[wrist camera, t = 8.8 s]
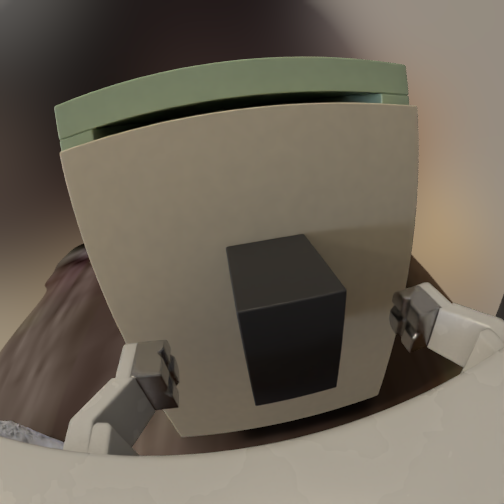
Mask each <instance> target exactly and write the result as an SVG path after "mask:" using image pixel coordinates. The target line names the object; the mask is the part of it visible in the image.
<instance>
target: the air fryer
mask: <svg viewBox="0 0 504 504" xmlns="http://www.w3.org/2000/svg"><path fill="white" fill-rule="evenodd" d="M407 95H408V84H407V75H406V66H405V65H402V64H396V63H389V62H381V61H372V60H363V59H351V58H334V57H274V58H257V59H244V60H235V61H226V62H217V63H211V64H204V65H198V66H192V67H186V68H180V69H175V70H171V71H166V72H161V73H157V74H153V75H148V76H145V77H140V78H137V79H133V80H129V81H126V82H122V83H119V84H116V85H112V86H109V87H106V88H103V89H100V90H97V91H94V92H91V93H89V94H85V95H82V96H80V97H77V98H74V99H72V100H69V101H67V102H64V103H62V104H60V105H57V106H55V108H54V109H55V116H56V123H57V129H58V134H59V139H60V140H61V141H60V145H61V150H62V151H64V150H67V149H70V148H72V147H75V146H78V145H81V144H84V143H87V142H90V141H94V140H97V139H100V138H103V137H107V136H110V135H114V134H117V133H121V132H124V131H128V130H132V129H136V128H140V127H144V126H148V125H152V124H157V123H161V122H166V121H170V120H175V119H180V118H185V117H191V116H196V115H202V114H208V113H214V112H221V111H228V110H235V109H243V108H252V107H262V106H273V105H285V104H302V103H337V102H348V103H383V104H399V105H409V97H408V96H407Z"/></svg>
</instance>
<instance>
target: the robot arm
mask: <svg viewBox="0 0 504 504" xmlns="http://www.w3.org/2000/svg"><path fill="white" fill-rule="evenodd" d="M392 302H393V304H394V306H393V308H392V309H391V310H390V315H389V321H390V325H391V328H392V330H393V331H394V333H395V334H397V335H399V336H402V338H401V342H402V343H403V345H404V346H405V347H406V349H407V350H408V351H409V353H411V352H413V351H416V350H419V349H421V348H424V347H427V348H429V349H431V350H433V351H435V352H436V353H438V354H440V355H442V356H444V357H445V358H447V359H449V360H451V361H453V362H454V363H456V364H458V365H460V366H462V367H463V369H462V371H461V373H460V375H458V376H456V377H454V378H452V379H451V380H449V381H447V382H445V383H443V384H441V385H439V386H437V387H435V388H433V389H431V390H429V391H427V392H425V393H423V394H421V395H419V396H416V397H414V398H412V399H410V400H408V401H405V402H403V403H401V404H398V405H396V406H394V407H391V408H389V409H386V410H384V411H381V412H378V413H376V414H373V415H370V416H368V417H365V418H362V419H359V420H356V421H353V422H351V423H347V424H344V425H341V426H338V427H335V428H331V429H328V430H325V431H321V432H318V433H314V434H310V435H306V436H302V437H298V438H294V439H290V440H285V441H281V442H276V443H271V444H266V445H261V446H255V447H249V448H243V449H236V450H228V451H220V452H211V453H201V454H188V455H168V456H140V455H138V454H137V453H136V452H135V451H134V450H133V449H132V446H133V445H134V443H135V442H136V440H137V439H138V437H139V436H140V434H141V433H142V431H143V430H144V428H145V427H146V425H147V424H148V422H149V421H150V419H151V418H152V416H153V415H154V413H155V412H156V411H155V410H162V409H172V408H179V391H178V389H177V387H176V386H177V385H178V383H179V368H178V365H177V361H176V359H175V357H174V356H172V355H171V354H170V353H171V347H170V345H169V343H168V341H167V340H158V341H148V342H139V343H128V344H125V345H124V346H123V350H122V354H121V357H120V361H119V365H118V369H117V374H116V378H112V379H111V380H110V381H109V382H108V383H107V384H106V385H105V386H104V387H103V388H102V389H101V390H100V391H99V392H98V393H97V394H96V395H95V396H94V397H93V398H92V399H91V400H90V401H89V402H88V403H87V404H86V405H85V406H84V407H83V408H82V409H81V410H80V411H79V412H78V413H77V414H76V415H75V416H74V417H73V418H72V419H71V420H70V423H69V427H68V431H67V434H66V439H65V443H64V447H63V450H62V449H55V448H50V447H44V446H39V445H34V444H29V443H25V442H21V441H16V440H13V439H9V438H5V437H2V436H0V504H504V321H503V320H502V319H501V318H498V317H495V316H492V315H489V314H486V313H483V312H480V311H477V310H474V309H471V308H468V307H465V306H462V305H459V304H456V303H453V304H451V303H450V302H449V301H448V300H447V299H446V298H445V297H444V296H443V295H442V294H441V293H440V292H439V291H438V290H437V289H435V288H434V287H433V286H432V285H431V284H430V283H427V282H425V283H422V284H419V285H416V286H413V287H410V288H407V289H404V290H400V291H397V292H395V293H394V295H393V298H392Z"/></svg>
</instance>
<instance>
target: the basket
mask: <svg viewBox="0 0 504 504" xmlns="http://www.w3.org/2000/svg"><path fill="white" fill-rule="evenodd" d="M60 158H61V162H62V167H63V171H64V175H65V179H66V183H67V187H68V191H69V195H70V199H71V202H72V206H73V209H74V213H75V216H76V219H77V223H78V226H79V229H80V232H81V235H82V238H83V241H84V244H85V247H86V250H87V253H88V256H89V258H90V261H91V264H92V266H93V269H94V272H95V274H96V277H97V279H98V282H99V284H100V287H101V289H102V292H103V294H104V296H105V299H106V301H107V303H108V306H109V308H110V310H111V313H112V315H113V317H114V319H115V321H116V323H117V326H118V328H119V330H120V332H121V334H122V336H123V338H124V340H125V342H126V344H128V343H139V342H148V341H158V340H167V341H168V343H169V345H170V347H171V353H170V354H171V355H172V356H174V357H175V359H176V361H177V365H178V368H179V383H178V385H177V386H176V387H177V389H178V391H179V408H172V409H163V410H164V411H165V413H166V414H167V416H168V418H169V419H170V421H171V422H172V424H173V425H174V427H175V428H176V430H177V431H178V433H179V434H180V436H181V437H191V436H202V435H212V434H220V433H228V432H235V431H241V430H247V429H253V428H259V427H264V426H269V425H274V424H279V423H284V422H288V421H293V420H297V419H301V418H305V417H309V416H313V415H317V414H320V413H324V412H328V411H331V410H334V409H338V408H341V407H344V406H347V405H351V404H354V403H357V402H360V401H363V400H366V399H368V398H371V397H374V396H377V395H378V393H379V390H380V387H381V384H382V381H383V378H384V375H385V371H386V368H387V365H388V361H389V358H390V354H391V350H392V347H393V343H394V339H395V335H396V334H395V333H394V331H393V330H392V328H391V325H390V321H389V315H390V310H391V309H392V308H393V306H394V304H393V302H392V298H393V295H394V293H395V292H397V291H400V290H404V289H406V283H407V277H408V271H409V265H410V258H411V251H412V243H413V234H414V226H415V215H416V203H417V186H418V114H417V106H411V105H399V104H383V103H348V102H337V103H302V104H285V105H273V106H262V107H252V108H243V109H235V110H228V111H221V112H214V113H208V114H202V115H196V116H191V117H185V118H180V119H175V120H170V121H166V122H161V123H157V124H152V125H148V126H144V127H140V128H136V129H132V130H128V131H124V132H121V133H117V134H114V135H110V136H107V137H103V138H100V139H97V140H94V141H90V142H87V143H84V144H81V145H78V146H75V147H72V148H70V149H67V150H64V151H61V152H60Z"/></svg>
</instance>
